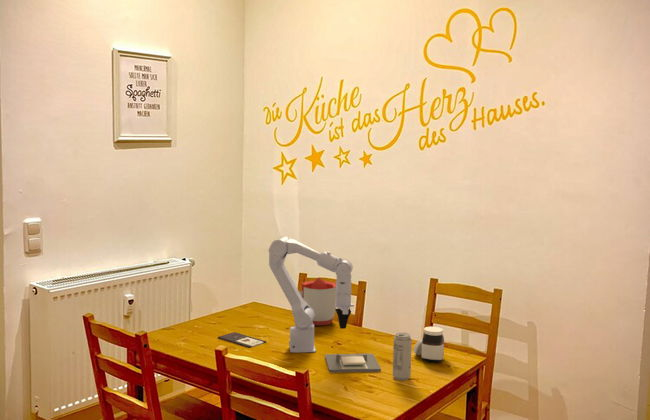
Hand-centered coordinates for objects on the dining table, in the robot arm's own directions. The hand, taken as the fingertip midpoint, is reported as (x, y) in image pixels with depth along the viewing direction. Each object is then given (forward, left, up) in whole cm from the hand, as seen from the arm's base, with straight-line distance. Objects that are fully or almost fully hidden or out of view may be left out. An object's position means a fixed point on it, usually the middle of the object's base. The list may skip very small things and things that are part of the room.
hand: (342, 328), depth 247 cm
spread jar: (+31, -8, -10) cm, 33 cm away
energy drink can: (+17, -27, -10) cm, 33 cm away
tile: (+2, -15, -7) cm, 17 cm away
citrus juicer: (-7, +40, -10) cm, 42 cm away
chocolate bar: (-38, +16, -10) cm, 43 cm away
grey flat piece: (+2, -13, -9) cm, 16 cm away
